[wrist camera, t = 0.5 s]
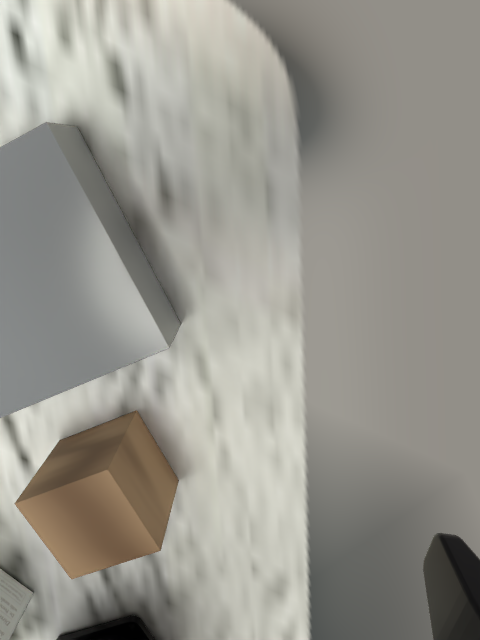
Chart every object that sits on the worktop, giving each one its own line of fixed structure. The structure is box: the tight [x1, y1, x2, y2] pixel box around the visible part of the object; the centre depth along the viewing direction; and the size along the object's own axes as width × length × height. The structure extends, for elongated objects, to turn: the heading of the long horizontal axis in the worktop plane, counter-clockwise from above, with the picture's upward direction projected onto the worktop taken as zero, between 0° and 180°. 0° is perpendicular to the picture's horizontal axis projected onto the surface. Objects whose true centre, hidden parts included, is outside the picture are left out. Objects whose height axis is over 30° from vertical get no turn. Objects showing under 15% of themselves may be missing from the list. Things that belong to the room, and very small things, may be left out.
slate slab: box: [0, 122, 181, 418], centre depth 21 cm, size 10×10×3 cm
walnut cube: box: [15, 411, 179, 579], centre depth 24 cm, size 5×5×5 cm
